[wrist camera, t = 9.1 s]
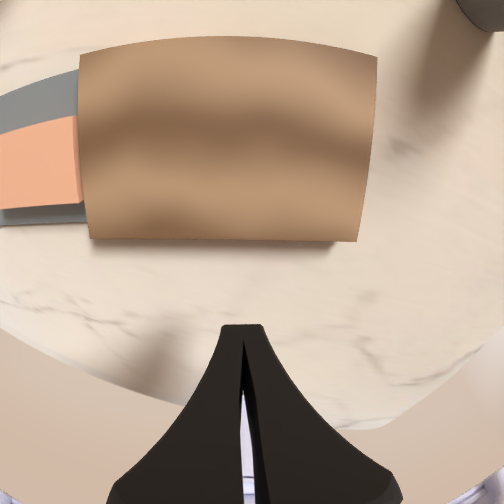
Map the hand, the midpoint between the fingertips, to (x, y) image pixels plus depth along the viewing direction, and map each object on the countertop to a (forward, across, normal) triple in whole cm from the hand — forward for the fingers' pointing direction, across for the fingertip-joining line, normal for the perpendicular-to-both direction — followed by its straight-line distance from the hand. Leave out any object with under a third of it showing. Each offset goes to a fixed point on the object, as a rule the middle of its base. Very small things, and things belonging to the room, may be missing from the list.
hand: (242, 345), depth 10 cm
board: (+9, +1, -6) cm, 11 cm away
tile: (+9, +13, -6) cm, 17 cm away
